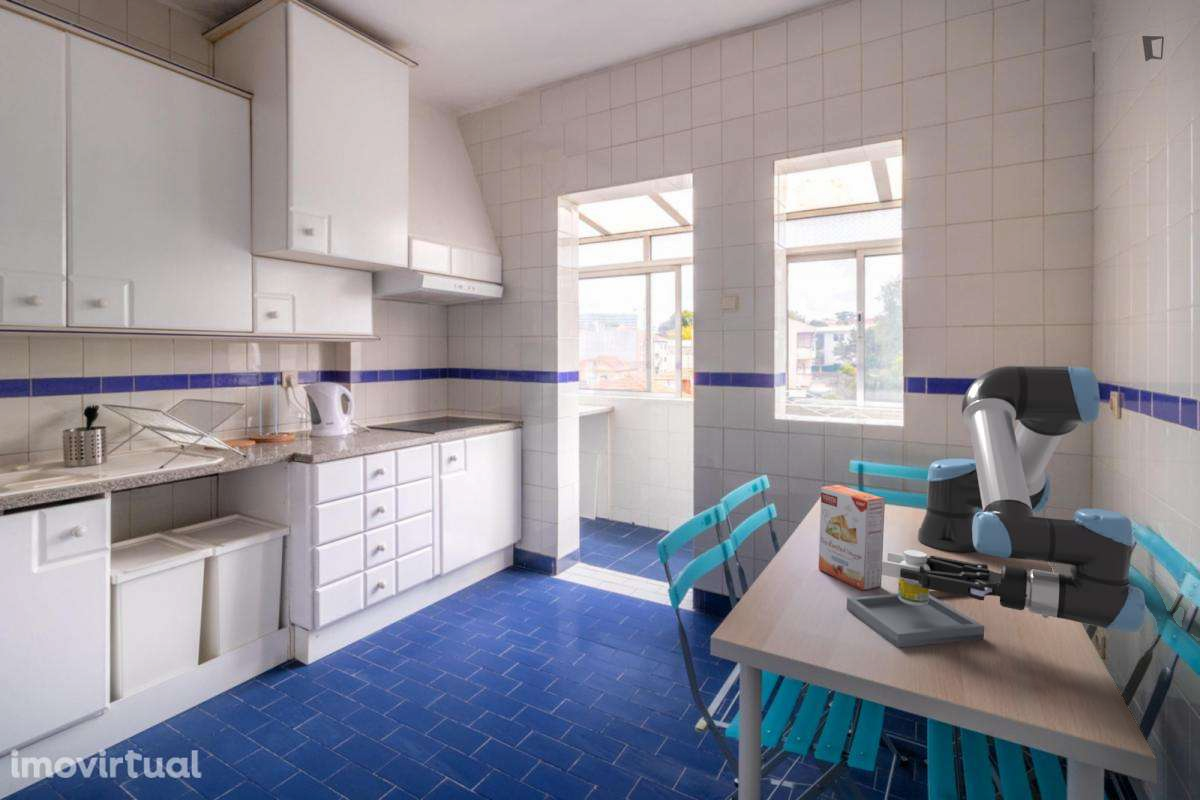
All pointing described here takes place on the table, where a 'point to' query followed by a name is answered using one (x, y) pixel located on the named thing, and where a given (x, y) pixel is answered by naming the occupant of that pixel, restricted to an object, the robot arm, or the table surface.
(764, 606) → the table surface
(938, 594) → the bottle holder
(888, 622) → the tray
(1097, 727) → the table surface
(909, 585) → the supplement bottle
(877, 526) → the cracker box
